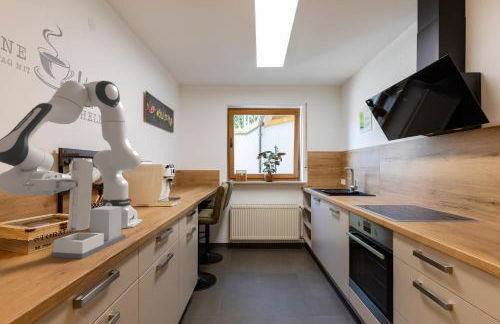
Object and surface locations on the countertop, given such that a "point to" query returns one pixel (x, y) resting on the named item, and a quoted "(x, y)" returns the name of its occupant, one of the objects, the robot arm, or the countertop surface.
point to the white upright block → (80, 194)
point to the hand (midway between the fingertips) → (83, 184)
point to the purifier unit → (92, 234)
